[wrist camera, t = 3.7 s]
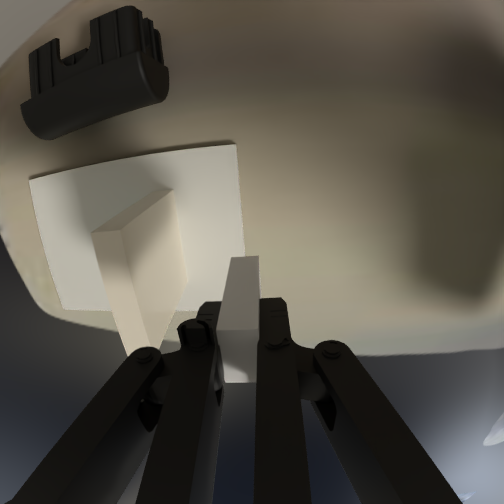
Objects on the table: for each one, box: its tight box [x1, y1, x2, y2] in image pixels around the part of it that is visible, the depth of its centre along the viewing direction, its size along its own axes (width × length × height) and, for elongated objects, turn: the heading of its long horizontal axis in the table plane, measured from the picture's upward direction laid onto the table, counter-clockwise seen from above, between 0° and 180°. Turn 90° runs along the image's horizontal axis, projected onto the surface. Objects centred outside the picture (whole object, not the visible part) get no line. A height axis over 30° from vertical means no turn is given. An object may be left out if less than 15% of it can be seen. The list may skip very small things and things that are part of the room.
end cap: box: [20, 6, 169, 140], centre depth 17 cm, size 10×7×7 cm
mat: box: [29, 144, 245, 311], centre depth 25 cm, size 20×14×1 cm
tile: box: [91, 189, 188, 356], centre depth 20 cm, size 2×8×10 cm, turn 4°
